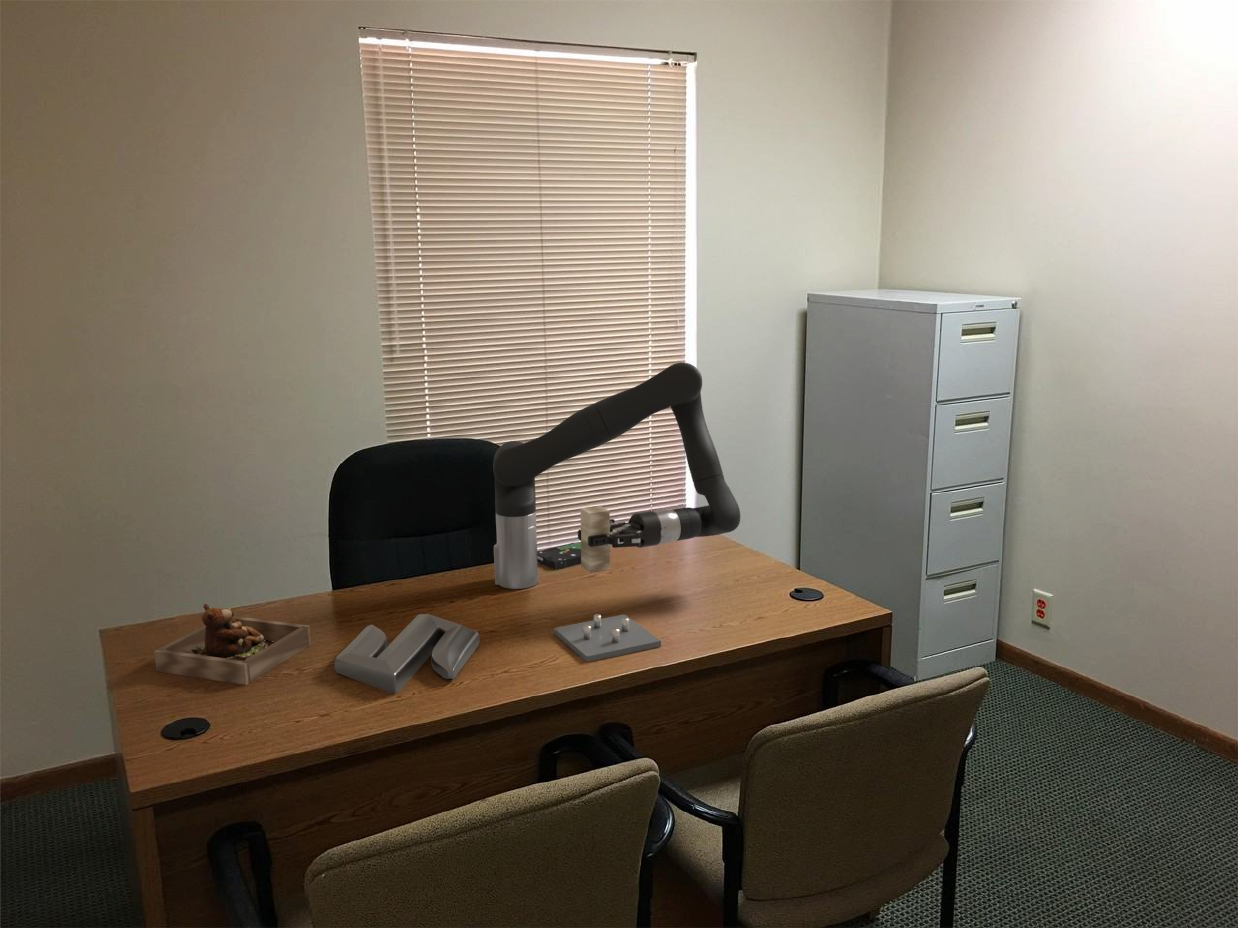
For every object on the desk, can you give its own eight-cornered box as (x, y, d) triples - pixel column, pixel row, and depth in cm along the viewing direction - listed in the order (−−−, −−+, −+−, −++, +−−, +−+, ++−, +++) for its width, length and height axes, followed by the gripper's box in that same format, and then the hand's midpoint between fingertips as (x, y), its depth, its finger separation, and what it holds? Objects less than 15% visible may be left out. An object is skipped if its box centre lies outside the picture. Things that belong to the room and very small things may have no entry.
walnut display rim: (156, 671, 187) (154, 651, 186) (227, 632, 205) (225, 614, 204) (246, 685, 181) (244, 664, 180) (311, 644, 199) (309, 625, 198)
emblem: (499, 649, 183) (344, 677, 172) (500, 676, 184) (346, 705, 173) (461, 600, 208) (323, 622, 197) (462, 624, 209) (325, 647, 198)
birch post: (590, 573, 209) (589, 513, 206) (581, 566, 213) (580, 508, 210) (610, 569, 211) (609, 510, 208) (600, 563, 215) (600, 505, 212)
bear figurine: (278, 661, 191) (273, 602, 189) (195, 680, 184) (188, 618, 181) (262, 638, 203) (257, 581, 200) (183, 655, 195) (176, 596, 192)
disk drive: (556, 573, 241) (605, 559, 250) (556, 562, 241) (604, 549, 250) (532, 562, 249) (580, 549, 258) (532, 551, 249) (580, 539, 258)
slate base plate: (586, 662, 189) (586, 644, 188) (554, 633, 203) (553, 616, 202) (661, 646, 195) (660, 628, 195) (624, 619, 209) (624, 602, 209)
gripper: (639, 503, 222) (569, 513, 215) (671, 519, 209) (597, 530, 202) (639, 535, 224) (570, 546, 216) (670, 553, 211) (598, 565, 204)
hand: (583, 538), depth 209 cm, fingers closed on birch post, 4 cm apart
